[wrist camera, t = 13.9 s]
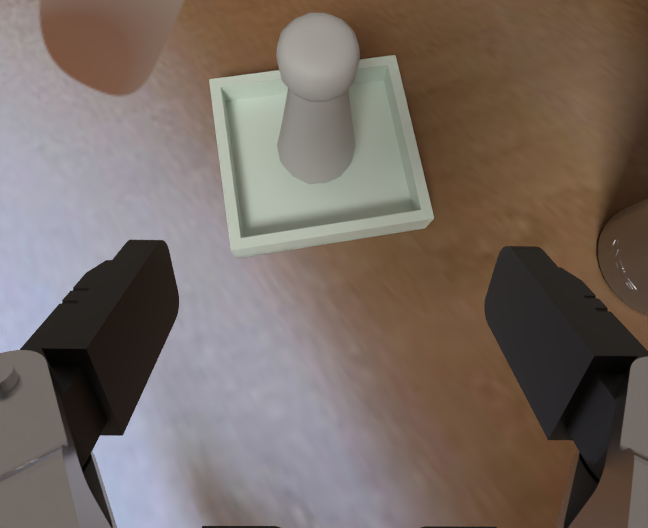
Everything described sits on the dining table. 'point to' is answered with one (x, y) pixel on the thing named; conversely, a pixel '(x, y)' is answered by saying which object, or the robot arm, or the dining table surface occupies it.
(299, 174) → the salt shaker
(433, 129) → the dining table surface
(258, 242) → the tray
